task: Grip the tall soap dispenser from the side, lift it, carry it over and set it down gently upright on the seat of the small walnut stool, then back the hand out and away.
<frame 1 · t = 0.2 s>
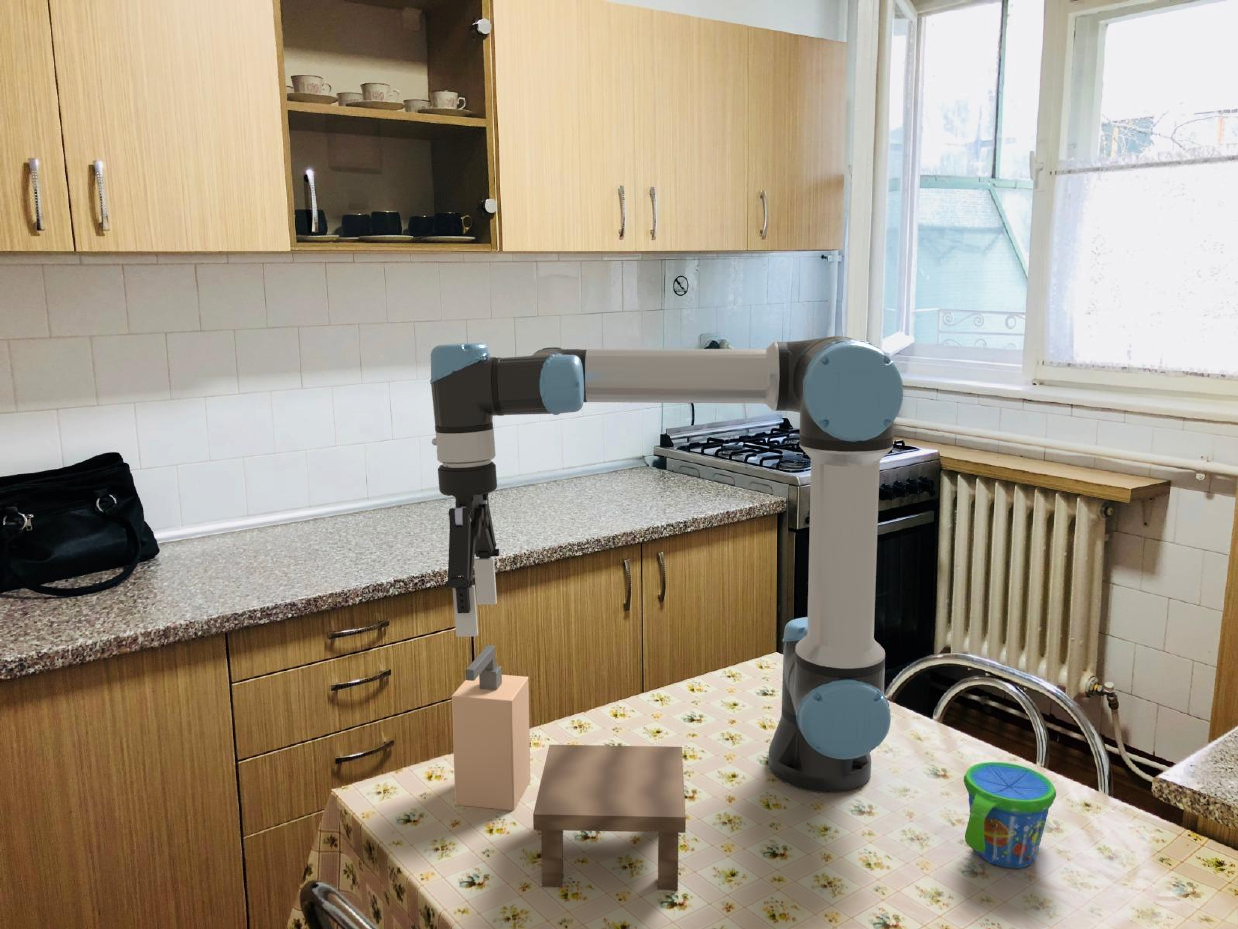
hand: (477, 619, 133), 27 cm above the table, tool pointing down, fingers open, 13 cm apart
snack cup: (1004, 855, 127), on the table
walnut stool: (612, 850, 128), on the table
soap dispenser: (489, 801, 140), on the table
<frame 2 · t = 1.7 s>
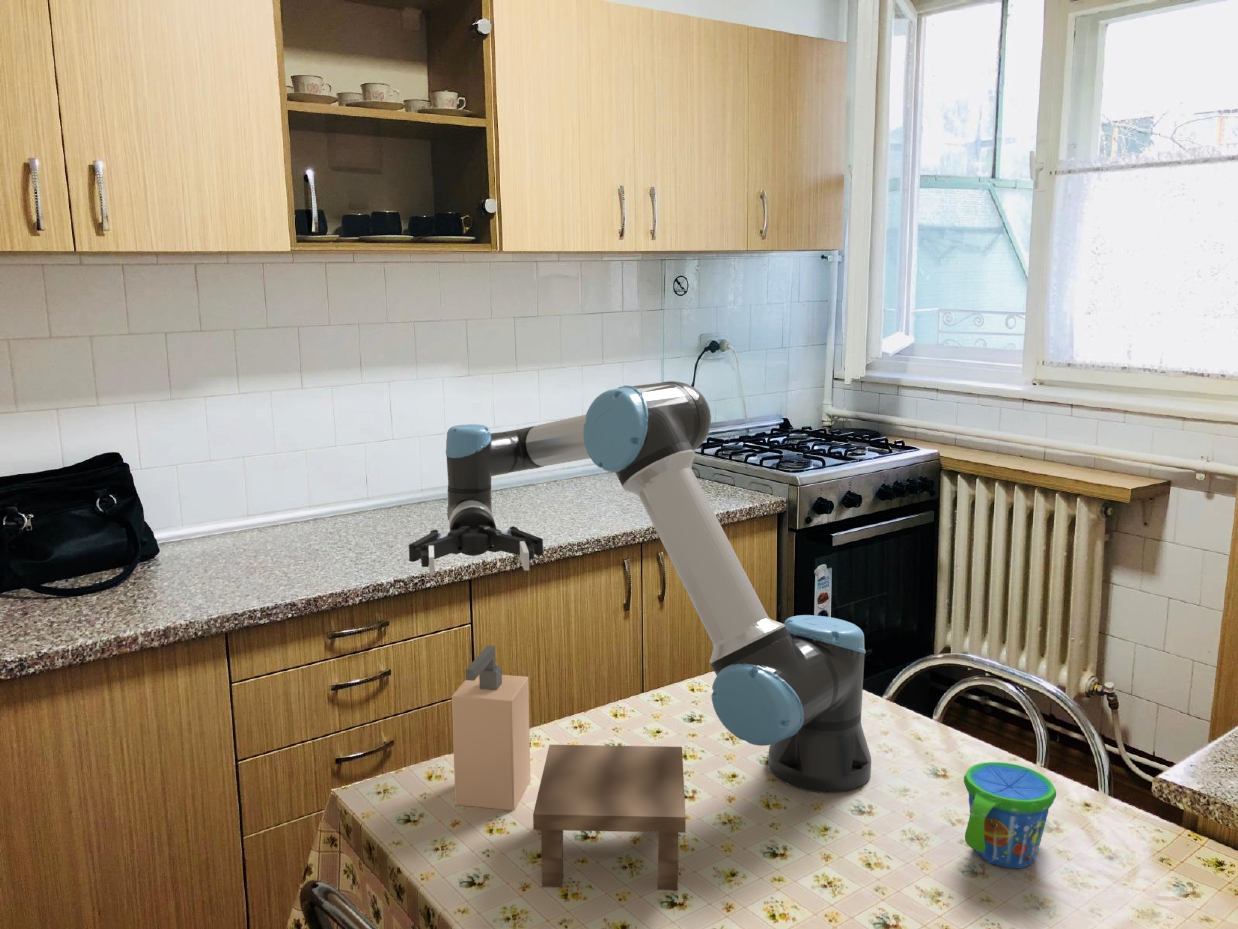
hand: (479, 564, 144), 32 cm above the table, tool horizontal, fingers open, 13 cm apart
nothing on the table moved.
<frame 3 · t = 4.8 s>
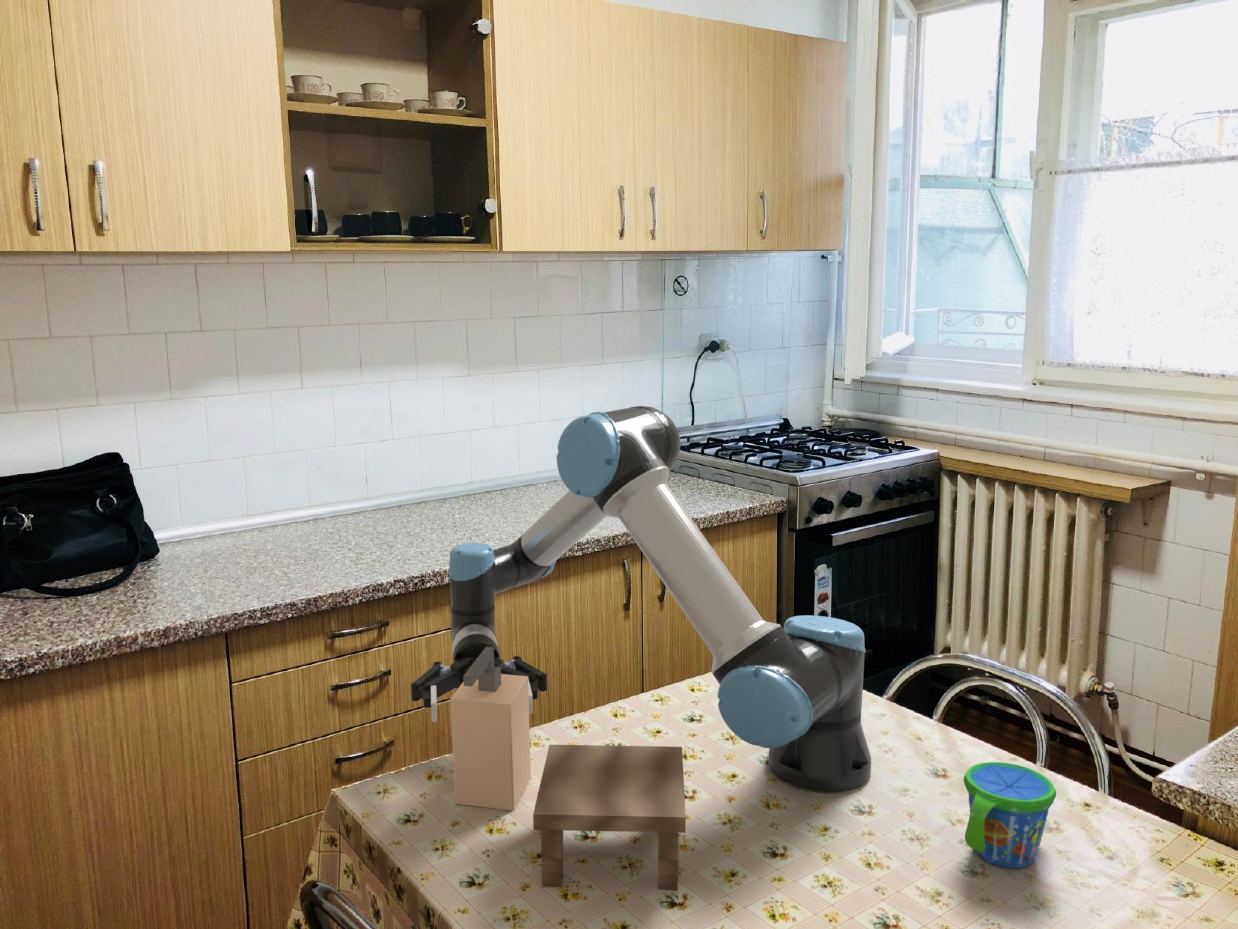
hand: (482, 708, 142), 12 cm above the table, tool horizontal, fingers open, 13 cm apart
soap dispenser: (489, 800, 140), on the table, touching gripper
everything else where it was.
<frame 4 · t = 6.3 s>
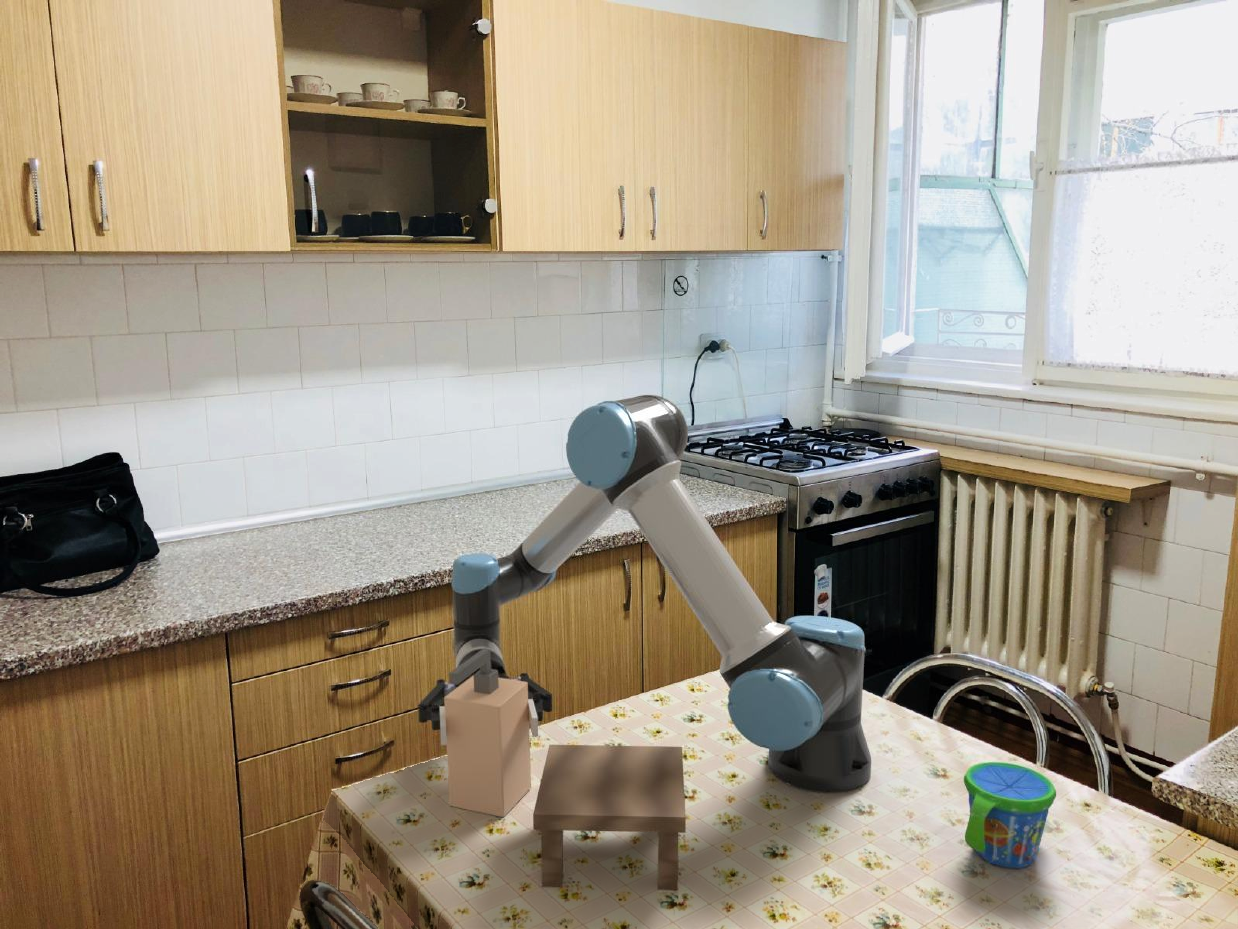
hand: (489, 731, 134), 12 cm above the table, tool horizontal, fingers closed on soap dispenser, 12 cm apart
soap dispenser: (484, 805, 139), on the table, touching gripper
everything else where it was.
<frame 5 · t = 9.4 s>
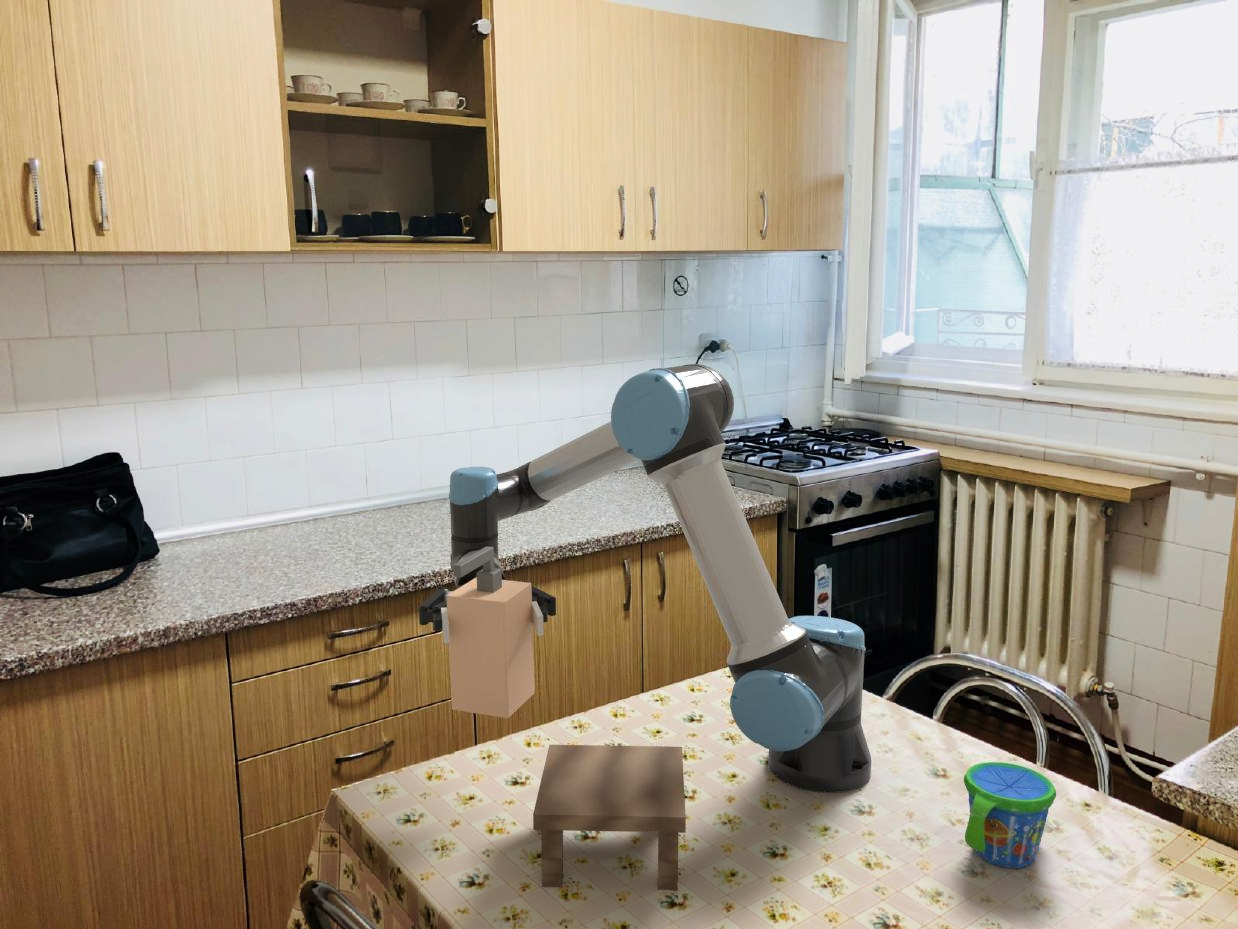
hand: (494, 629, 131), 27 cm above the table, tool horizontal, fingers closed on soap dispenser, 12 cm apart
soap dispenser: (487, 708, 135), point 15 cm above the table, touching gripper
everything else where it was.
when the fingers open (23 cm above the table, at t = 12.6 s): soap dispenser drops 1 cm, resting on walnut stool.
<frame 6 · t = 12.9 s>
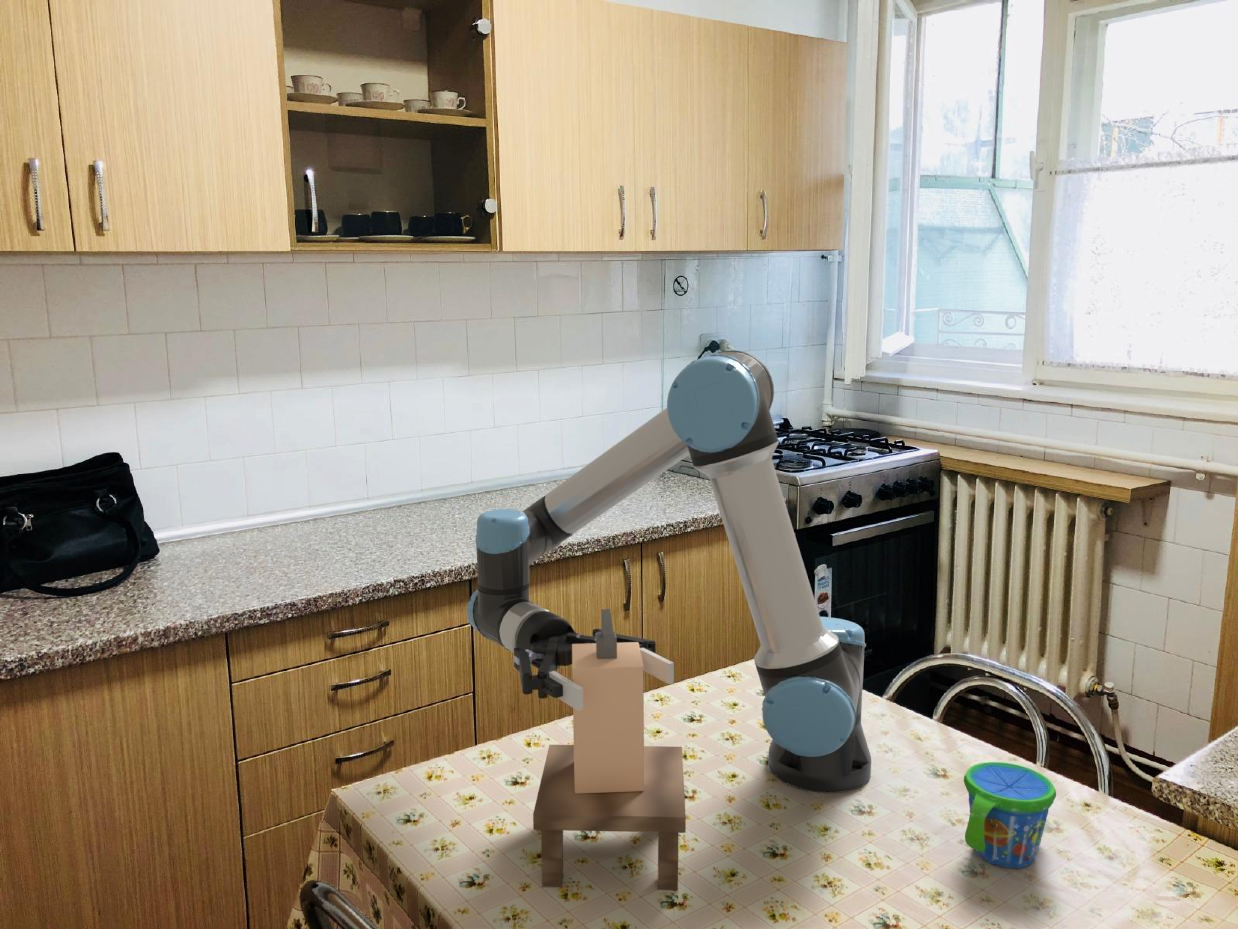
hand: (627, 686, 121), 23 cm above the table, tool horizontal, fingers open, 13 cm apart
soap dispenser: (608, 785, 124), point 10 cm above the table, touching walnut stool
everything else where it was.
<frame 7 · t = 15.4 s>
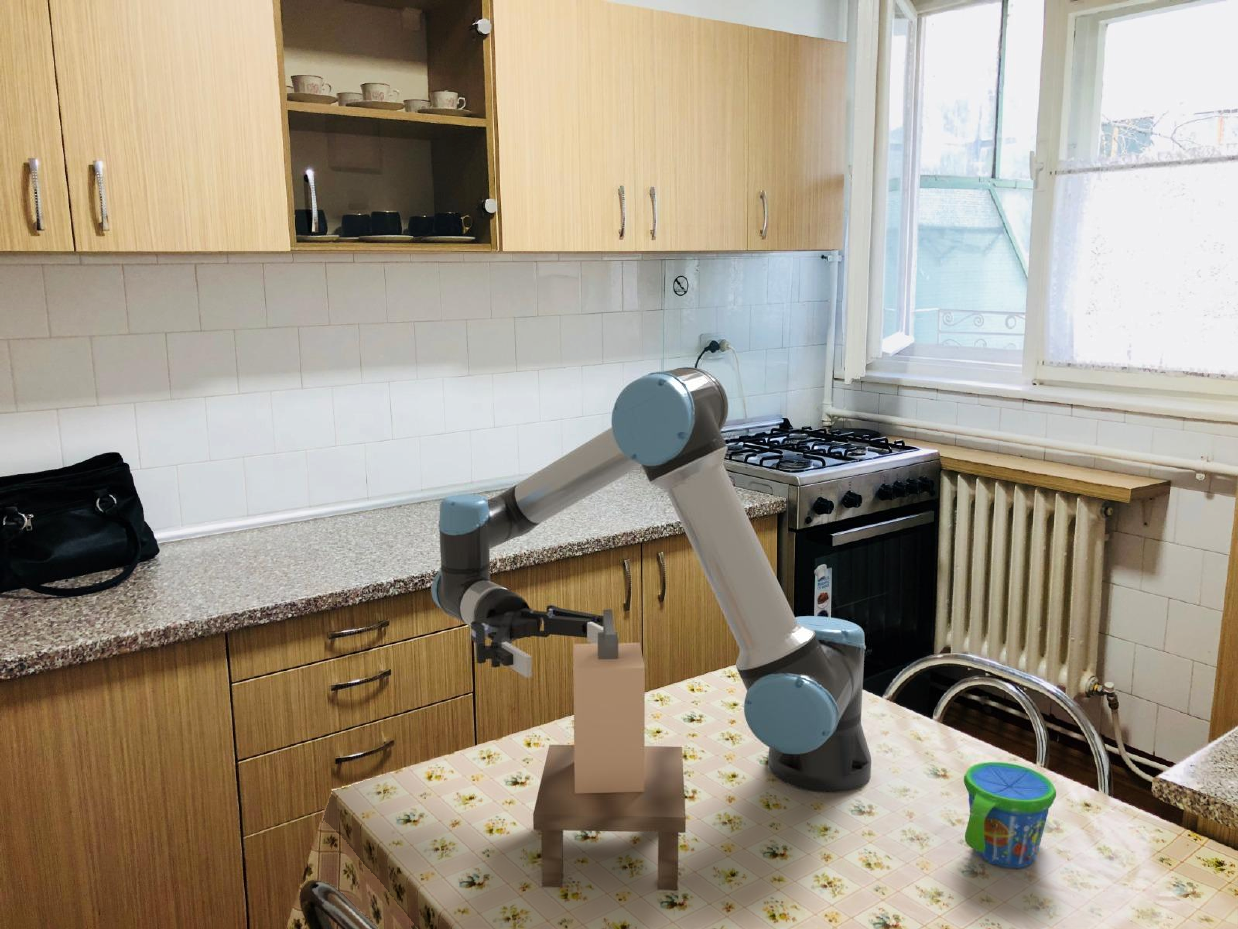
hand: (574, 655, 130), 24 cm above the table, tool horizontal, fingers open, 13 cm apart
nothing on the table moved.
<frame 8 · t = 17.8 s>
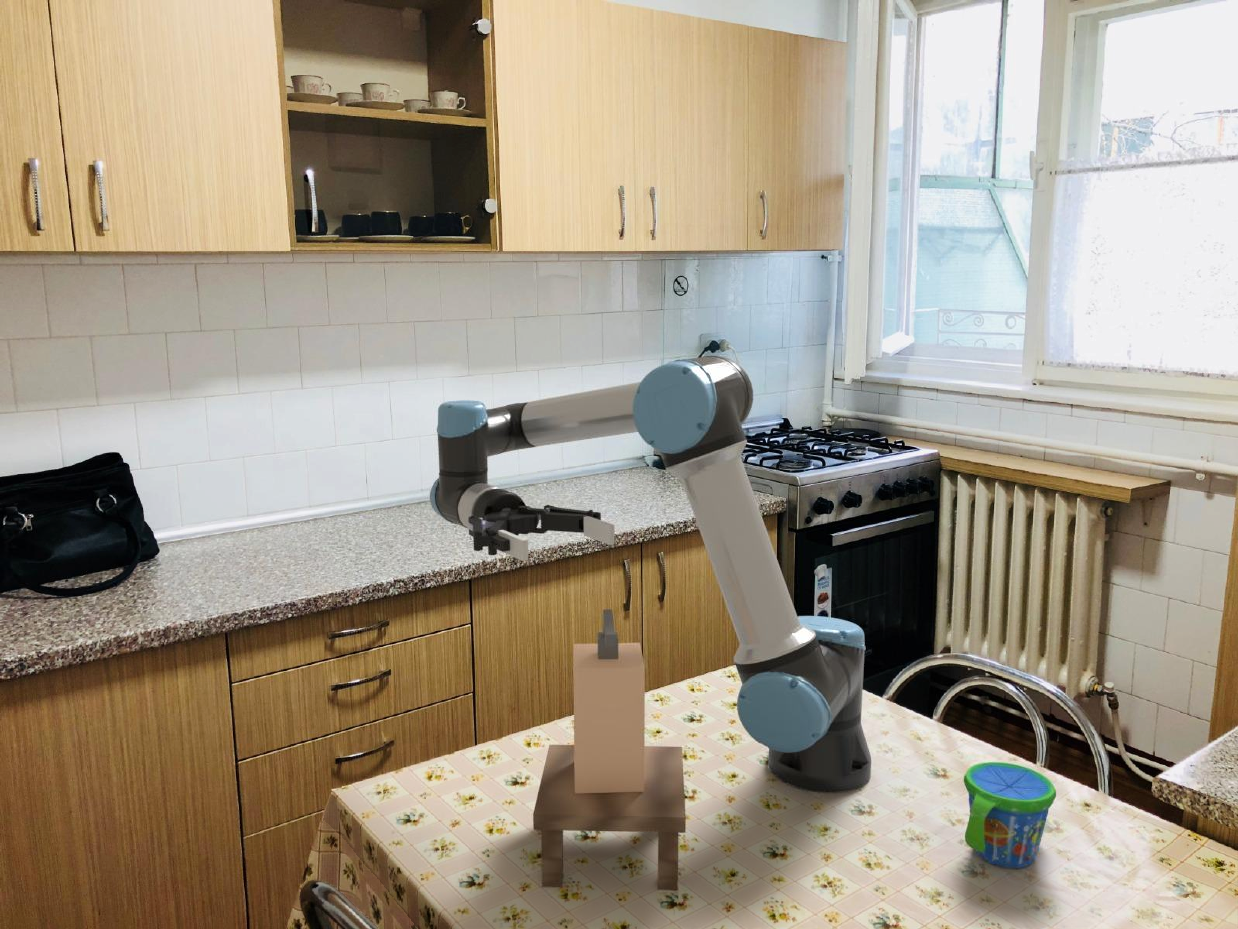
hand: (570, 542, 131), 38 cm above the table, tool horizontal, fingers open, 13 cm apart
nothing on the table moved.
at the end: soap dispenser inside the target area on the walnut stool (1.6 cm from its centre), point 9.8 cm above the walnut stool's base; soap dispenser tilted 0°; the gripper is holding nothing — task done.
